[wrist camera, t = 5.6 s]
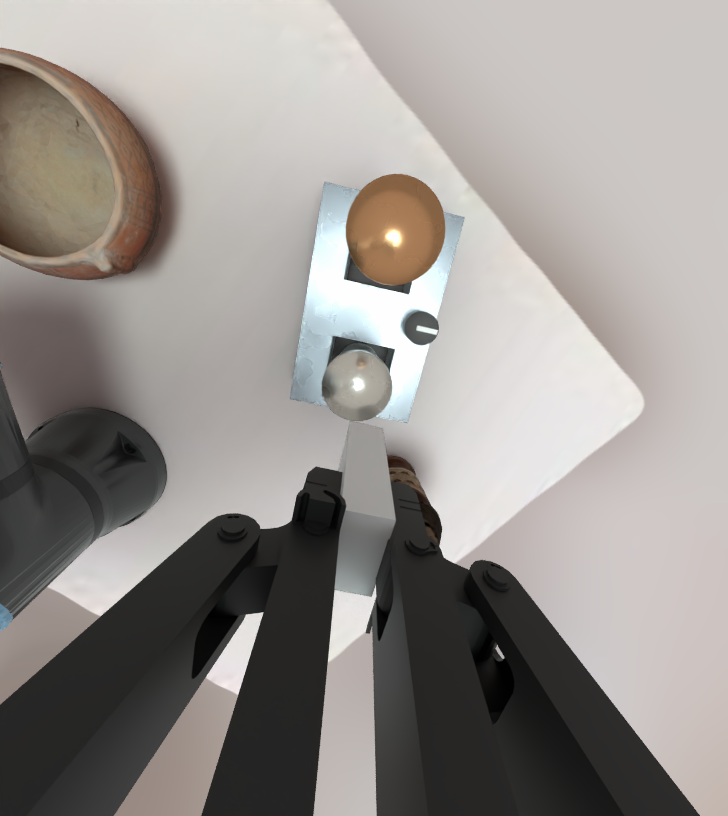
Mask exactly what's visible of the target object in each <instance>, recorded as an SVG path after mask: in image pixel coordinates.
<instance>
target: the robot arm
mask: <svg viewBox="0 0 728 816" xmlns="http://www.w3.org/2000/svg"><path fill="white" fill-rule="evenodd" d="M0 368H2V367H1V363H0ZM165 483H166V467H165V463H164V459H163V456H162V454H161V452H160V450H159V448H158V447H157V445H156V443H155V442H154V441H153V439H152V438H151V437H150V436H149V435H148V434H147V433H146V432H145V431H144V430H143V429H142V428H141V427H140V426H138V425H137V424H136V423H134V422H133V421H131V420H129V419H128V418H126V417H124V416H122V415H119V414H117V413H114V412H111V411H108V410H103V409H97V408H81V409H75V410H71V411H68V412H65V413H63V414H61V415H58V416H56V417H53V418H51V419H49V420H47V421H46V422H44V423H43V424H41V425H40V426H39V427H37V428H36V429H35V430H34V431H33V432H32V434H31V435H30V436H29V438H28V439H27V440H26V441H24V438H23V435H22V433H21V430H20V427H19V424H18V421H17V419H16V416H15V413H14V410H13V407H12V405H11V402H10V399H9V396H8V393H7V390H6V387H5V384H4V381H3V378H2V374H1V371H0V631H1V630H3V629H4V628H6V627H7V626H8V625H9V623H10V622H11V621H12V620H13V619H14V618H15V617H16V616H17V615H18V614H19V613H20V612H21V611H22V610H23V609H24V608H25V607H26V606H27V605H28V604H29V603H30V602H32V600H33V599H35V598H36V597H37V595H39V594H40V593H41V592H42V591H43V590H44V589H45V588H46V587H47V586H48V585H49V584H50V583H51V582H52V581H53V580H54V579H55V578H56V577H57V576H58V575H59V574H61V573H62V572H63V571H64V570H65V569H66V568H67V567H68V566H69V565H70V564H71V563H72V562H73V561H74V560H75V559H76V558H77V557H78V556H79V555H80V554H81V553H82V552H83V551H84V550H85V549H86V548H87V547H88V546H90V545H91V544H92V543H93V542H94V541H95V540H96V539H98V538H100V537H102V536H104V535H106V534H108V533H110V532H112V531H113V530H115V529H117V528H118V527H121V526H124V525H127V524H129V523H131V522H133V521H135V520H137V519H138V518H140V517H141V516H142V515H144V514H145V513H146V512H147V511H148V510H149V509H150V508H151V507H152V506H153V505H154V504H155V503H156V502H157V501H158V499H159V498H160V496H161V495H162V493H163V490H164V487H165ZM375 585H376V595H377V597H376V600H375V603H374V606H373V609H372V612H371V615H370V618H369V621H368V625H367V629H366V633H370V630H371V627H372V632H373V674H374V717H375V757H376V758H375V759H376V801H377V802H376V803H377V816H700V815H699V814H698V813H697V812H696V810H695V809H694V807H693V806H692V805H691V804H690V802H689V801H688V800H687V798H686V797H685V796H684V795H683V793H682V792H681V791H680V789H679V788H678V787H677V785H676V784H675V783H674V782H673V780H672V779H671V778H670V776H669V775H668V774H667V773H666V771H665V770H664V769H663V767H662V766H661V765H660V764H659V762H658V761H657V760H656V758H655V757H654V756H653V755H652V753H651V752H650V751H649V749H648V748H647V747H646V746H645V744H644V743H643V742H642V740H641V739H640V738H639V737H638V735H637V734H636V733H635V731H634V730H633V729H632V727H631V726H630V725H629V724H628V722H627V721H626V720H625V718H624V717H623V716H622V715H621V714H620V712H619V711H618V709H617V708H616V707H615V706H614V704H613V703H612V702H611V700H610V699H609V698H608V696H607V695H606V694H605V693H604V691H603V690H602V689H601V688H600V686H599V685H598V684H597V682H596V681H595V680H594V678H593V677H592V676H591V675H590V673H589V672H588V671H587V669H586V668H585V667H584V666H583V664H582V663H581V662H580V660H579V659H578V658H577V656H576V655H575V654H574V653H573V651H572V650H571V649H570V648H569V646H568V645H567V644H566V642H565V641H564V640H563V638H562V637H561V636H560V635H559V633H558V632H557V631H556V629H555V628H554V627H553V626H552V624H551V623H550V622H549V620H548V619H547V618H546V617H545V615H544V614H543V613H542V611H541V610H540V609H539V607H538V606H537V605H536V604H535V602H534V601H533V600H532V598H531V597H530V596H529V595H528V594H527V592H526V591H525V590H524V589H523V587H522V586H521V584H520V583H519V582H518V581H517V579H516V578H515V577H514V576H513V575H512V574H511V573H510V572H509V571H508V570H506V569H504V568H503V567H502V566H500V565H498V564H496V563H493V562H491V561H485V560H480V561H475V562H474V563H473V564H472V565H471V567H470V569H469V570H468V569H465V568H463V567H461V566H459V565H457V564H454V563H452V562H450V561H448V560H446V559H445V558H444V557H443V555H442V551H441V549H440V547H439V546H438V544H437V543H436V542H435V541H434V540H433V539H432V538H431V537H429V536H428V535H427V531H426V527H425V523H424V520H423V516H422V512H421V508H420V505H419V501H418V497H417V494H416V492H415V491H414V490H413V489H412V488H411V486H410V485H407V484H402V483H397V482H392V481H390V475H389V468H388V461H387V454H386V447H385V440H384V433H383V428H380V427H376V426H371V425H366V424H362V423H357V422H353V421H350V424H349V428H348V432H347V436H346V441H345V445H344V449H343V453H342V457H341V461H340V466H339V470H338V471H335V470H330V469H325V468H320V467H315V468H314V469H312V470H311V471H310V472H308V475H307V478H306V482H305V485H304V488H303V490H301V491H300V492H299V493H298V495H297V497H296V502H295V507H294V512H293V517H292V521H290V522H289V523H288V524H286V525H284V526H281V527H278V528H272V529H260V526H259V524H258V523H257V522H256V521H255V520H254V519H252V518H251V517H249V516H247V515H242V514H225V515H221V516H217V517H216V518H214V519H212V520H211V521H209V522H208V523H207V524H206V525H204V526H203V527H202V528H201V529H200V530H199V531H198V532H196V533H195V534H194V535H193V536H192V537H191V538H190V539H188V540H187V541H186V542H185V543H184V544H183V545H182V546H181V547H179V548H178V549H177V550H176V551H175V552H174V553H173V554H171V555H170V556H169V557H168V558H167V559H166V560H165V561H163V562H162V563H161V564H160V565H159V566H158V567H157V568H155V569H154V570H153V571H152V572H151V573H150V574H149V575H147V576H146V577H145V578H144V579H143V580H142V581H141V582H140V583H138V584H137V585H136V586H135V587H134V588H133V589H132V590H130V591H129V592H128V593H127V594H126V595H125V596H124V597H122V598H121V599H120V600H119V601H118V602H117V603H116V604H114V605H113V606H112V607H111V608H110V609H109V610H108V611H106V612H105V613H104V614H103V615H102V616H101V617H100V618H99V619H97V620H96V621H95V622H94V623H93V624H92V625H91V626H90V627H88V628H87V629H86V630H85V631H84V632H83V633H82V634H80V635H79V636H78V637H77V638H76V639H75V640H74V641H72V642H71V643H70V644H69V645H68V646H67V647H66V648H64V649H63V650H62V651H61V652H60V653H59V654H58V655H56V657H54V658H53V659H52V660H51V661H50V662H49V663H47V664H46V665H45V666H44V667H43V668H42V669H40V670H39V671H38V672H37V673H36V674H35V675H34V676H32V677H31V678H30V679H29V680H28V681H27V682H26V683H25V684H23V685H22V686H21V687H20V688H19V689H18V690H17V691H15V692H14V693H13V694H12V695H11V696H10V697H9V698H8V699H6V700H5V701H4V702H3V703H2V704H1V705H0V816H114V814H115V813H116V811H117V810H118V808H119V807H120V805H121V804H122V802H123V801H124V799H125V798H126V796H127V795H128V793H129V792H130V790H131V789H132V787H133V786H134V784H135V783H136V781H137V780H138V778H139V777H140V775H141V774H142V772H143V771H144V769H145V768H146V766H147V765H148V763H149V762H150V760H151V759H152V757H153V756H154V754H155V753H156V751H157V750H158V748H159V747H160V745H161V744H162V742H163V740H164V739H165V738H166V736H167V735H168V733H169V731H170V730H171V729H172V727H173V725H174V724H175V722H176V721H177V719H178V718H179V716H180V715H181V713H182V712H183V710H184V709H185V707H186V706H187V704H188V703H189V701H190V700H191V698H192V697H193V695H194V694H195V692H196V691H197V689H198V688H199V686H200V685H201V683H202V682H203V680H204V679H205V677H206V676H207V674H208V673H209V671H210V670H211V668H212V667H213V665H214V664H215V662H216V661H217V659H218V658H219V656H220V655H221V653H222V652H223V650H224V649H225V647H226V646H227V644H228V643H229V641H230V640H231V638H232V637H233V635H234V634H235V632H236V631H237V629H238V627H239V626H240V624H241V623H242V621H243V620H244V618H245V615H246V614H253V613H261V612H264V613H263V616H262V620H261V623H260V626H259V629H258V633H257V636H256V639H255V643H254V646H253V649H252V652H251V656H250V659H249V662H248V665H247V669H246V672H245V675H244V678H243V682H242V685H241V688H240V691H239V695H238V698H237V701H236V705H235V708H234V711H233V715H232V718H231V721H230V724H229V728H228V731H227V734H226V737H225V740H224V744H223V747H222V750H221V754H220V757H219V760H218V763H217V766H216V770H215V773H214V776H213V780H212V783H211V786H210V789H209V793H208V796H207V799H206V802H205V806H204V809H203V813H202V816H313V811H314V801H315V791H316V781H317V770H318V759H319V748H320V737H321V727H322V716H323V706H324V695H325V685H326V674H327V663H328V653H329V642H330V631H331V621H332V610H333V600H334V590H338V591H343V592H349V593H354V594H360V595H365V596H371V597H372V594H373V591H374V588H375ZM497 645H498V647H499V648H500V650H501V652H502V653H503V655H504V657H505V658H504V659H502V658H501V657H500V655H499V654H498V653H497V651H496V649H495V648H496V646H497Z"/></svg>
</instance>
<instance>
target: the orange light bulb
mask: <svg viewBox="0 0 728 816" xmlns="http://www.w3.org/2000/svg"><path fill="white" fill-rule="evenodd" d="M444 239H445V217H444V213H443V209H442V207H441V204H440V202H439V200H438V198H437V197H436V195H435V194H434V192H433V191H432V190H431V189H430V188H429V187H428V186H427V185H426V184H424V183H423V182H422V181H420V180H418V179H416V178H414V177H411V176H408V175H403V174H392V175H386V176H382V177H380V178H378V179H375V180H374V181H372V182H370V183H369V184H368V185H366V186H365V187H364V188H363V189H362V190H361V191H360V192H359V194H358V195H357V196H356V198H355V199H354V201H353V203H352V205H351V207H350V210H349V213H348V216H347V221H346V241H347V246H348V250H349V252H350V255H351V258H352V260H353V261H354V263H355V265H356V266H357V268H358V269H359V270H360V271H361V272H362V273H363V274H364V275H365V276H366V277H368V278H369V279H371V280H373V281H375V282H377V283H380V284H384V285H401V284H406V283H409V282H412V281H414V280H416V279H418V278H419V277H421V276H422V275H424V274H425V273H426V272H427V271H428V270H429V269H430V268H431V267H432V266H433V264H434V263H435V262H436V260H437V258H438V256H439V254H440V252H441V250H442V247H443V244H444Z"/></svg>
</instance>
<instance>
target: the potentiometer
mask: <svg viewBox="0 0 728 816" xmlns="http://www.w3.org/2000/svg"><path fill="white" fill-rule="evenodd" d="M438 330H439V326H438V322H437V320H436V318H435V317H434V316H433V315H431V314H430V313H427V312H424V311H413V312H411V313H410V314H408V315H407V316H406V318H405V319H404V322H403V332H404V334H405V336H406V337H407V338H408V339H409V340H410V341H411V342H412V343H414V344H416V345H427V344H429V343H431V342H432V341H433V340H434V339H435V338H436V336H437V334H438Z"/></svg>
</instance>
